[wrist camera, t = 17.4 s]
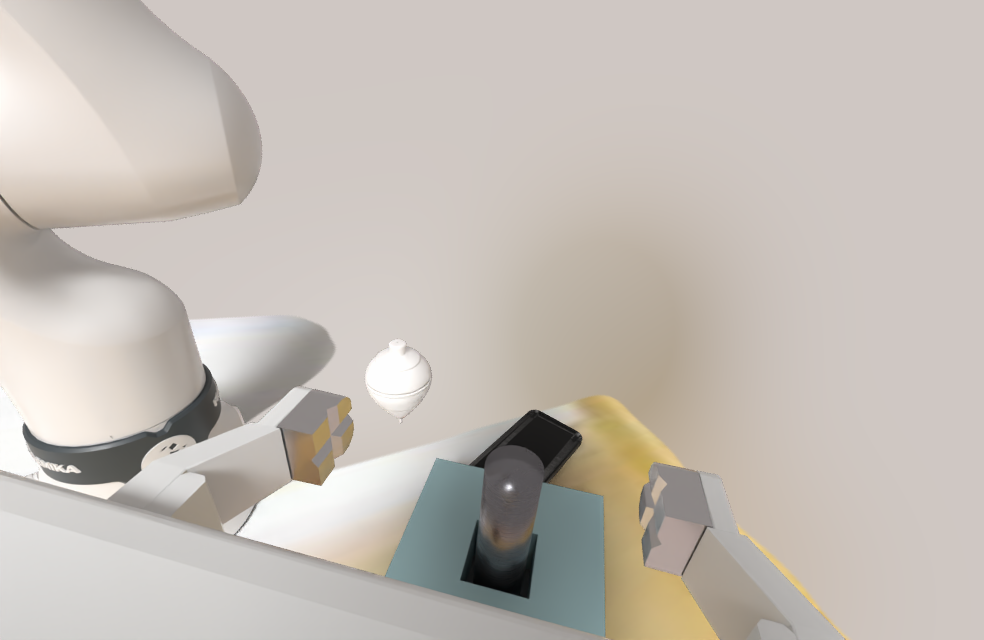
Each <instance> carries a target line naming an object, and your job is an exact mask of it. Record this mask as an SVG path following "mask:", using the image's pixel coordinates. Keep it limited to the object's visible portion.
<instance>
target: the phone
mask: <svg viewBox="0 0 984 640" xmlns="http://www.w3.org/2000/svg"><path fill="white" fill-rule="evenodd" d="M581 441H582V436H581V434H580V433H579V432H577V431H576V430H574V429H572V428H570V427H568V426H566V425H565V424H563V423H561V422H559V421H557V420H556V419H554V418H552V417H550V416H548V415H546V414H545V413H543V412H541V411H539V410H531V411H529V412H528V413H527V414H525V415H524V416H523V417H522V418H521V419H520V420H519V421H518V422H517V423H515V424H514V425H513V426H512V427H511V428H510V429H509V430H508V431H506V432H505V433H504V434H503V435H502V436H501V437H500V438H499V439H498V440H496V441H495V442H494V443H493V444H492V445H491V446H490V447H489V448H488V449H486V450H485V451H484V452H483V453H482V454H481V455H480V456H479V457H478V458H476V459H475V460H474V461H473V462H472V463H471V464H470V465H469V466H474V467H478V468H482V469H484V468H485V461H486V459H487V457H488V455H489V454H490V453H491V452H492V451H493V450H495V449H497V448H499V447H502V446H507V445H515V446H520V447H524V448H526V449H529V450H530V451H532V452H533V453H535V454H536V455H537V456H538V457H539V458H540V460H541V461H542V463H543V466H544V471H545V472H544V479H543V483H549V481H550V480H551V479H552V478H553V477H554V476H555V474H556V473H557V472H558V471H559V470H560V468H561V467H562V466H563V465H564V464H565V463H566V461H567V460H568V459H569V458H570V457H571V455H572V454H573V453H574V452H575V451H576V450H577V448H578V447H579V446H580V444H581Z"/></svg>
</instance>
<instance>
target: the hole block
mask: <svg viewBox="0 0 984 640" xmlns="http://www.w3.org/2000/svg"><path fill="white" fill-rule="evenodd" d="M483 477H484V469H482V468H478V467H474V466H469V465H465V464H460V463H456V462H452V461H447V460H443V459H439V458H436V461H435V463H434V465H433V468H432V470H431V472H430V474H429V477H428V479H427V481H426V484H425V486H424V488H423V490H422V493H421V495H420V497H419V500H418V502H417V504H416V506H415V509H414V511H413V513H412V516H411V518H410V520H409V522H408V525H407V527H406V529H405V532H404V534H403V536H402V538H401V541H400V543H399V545H398V548H397V550H396V552H395V554H394V557H393V559H392V561H391V564H390V566H389V568H388V570H387V573H386V575H385V577H388V578H392V579H395V580H399V581H402V582H406V583H410V584H413V585H417V586H421V587H424V588H428V589H431V590H435V591H439V592H442V593H446V594H449V595H453V596H457V597H460V598H464V599H467V600H471V601H475V602H478V603H482V604H486V605H489V606H493V607H496V608H500V609H504V610H507V611H511V612H515V613H518V614H522V615H526V616H529V617H533V618H536V619H540V620H544V621H547V622H551V623H555V624H558V625H562V626H565V627H569V628H573V629H576V630H580V631H584V632H587V633H591V634H594V635H598V636H602V637H605V583H604V505H603V496H600V495H596V494H591V493H587V492H583V491H578V490H574V489H570V488H565V487H561V486H557V485H552V484H548V483H543V484H542V489H541V493H540V498H539V503H538V508H537V513H536V518H535V523H534V528H533V533H532V538H531V542H530V547H529V552H528V557H527V562H526V567H525V572H524V577H523V582H522V587H521V591H520V596H516V595H512V594H509V593H505V592H501V591H498V590H494V589H490V588H487V587H483V586H479V585H476V584H473V574H474V564H475V555H476V545H477V535H478V526H479V516H480V506H481V497H482V487H483Z"/></svg>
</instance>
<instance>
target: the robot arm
mask: <svg viewBox="0 0 984 640" xmlns="http://www.w3.org/2000/svg"><path fill="white" fill-rule="evenodd" d="M261 160H262V141H261V135H260V131H259V126H258V124H257V121H256V118H255V115H254V113H253V111H252V109H251V106H250V105H249V103H248V101H247V99H246V98H245V96H244V94H243V93H242V92H241V90H240V89H239V87H238V86H237V85H236V83H235V82H234V81H233V80H232V79H231V78H230V76H229V75H228V74H227V73H226V72H225V71H224V70H223V69H222V68H221V67H220V66H218V65H217V64H216V63H215V62H213V60H211V59H210V58H209V57H208V56H206V55H205V54H203V53H202V52H200V51H199V50H197V49H196V48H194V47H193V46H191V45H190V44H189V43H188V42H186V41H185V40H184V39H182V38H181V37H180V36H179V35H177V34H176V33H175V32H174V31H172V30H171V29H170V28H169V27H168V26H167V25H166V24H165V23H163V22H162V21H161V20H160V19H159V18H158V17H157V16H156V15H154V14H153V13H152V12H151V11H150V10H149V9H148V7H146V6H145V5H144V3H143V2H142V1H141V0H0V386H1V388H2V389H3V390H4V392H5V393H6V395H7V396H8V398H9V399H10V400H11V402H12V403H13V405H14V406H15V408H16V409H17V411H18V413H19V414H20V416H21V417H22V419H23V421H24V424H23V435H24V438H25V440H26V445H27V448H28V450H29V452H30V454H31V456H32V457H33V459H34V460H35V461H36V462H37V463H38V464H39V471H38V472H35V473H34V474H30V475H27V476H25V477H23V476H20V475H16V474H12V473H9V472H5V471H2V470H0V640H613V639H609V638H605V637H602V636H598V635H594V634H591V633H587V632H584V631H580V630H576V629H573V628H569V627H565V626H562V625H558V624H555V623H551V622H547V621H544V620H540V619H536V618H533V617H529V616H526V615H522V614H518V613H515V612H511V611H507V610H504V609H500V608H496V607H493V606H489V605H486V604H482V603H478V602H475V601H471V600H467V599H464V598H460V597H457V596H453V595H449V594H446V593H442V592H439V591H435V590H431V589H428V588H424V587H421V586H417V585H413V584H410V583H406V582H402V581H399V580H395V579H392V578H388V577H384V576H381V575H377V574H374V573H370V572H366V571H363V570H359V569H356V568H352V567H348V566H345V565H341V564H338V563H334V562H330V561H327V560H323V559H319V558H316V557H312V556H309V555H305V554H301V553H298V552H294V551H291V550H287V549H283V548H280V547H276V546H273V545H269V544H265V543H262V542H258V541H254V540H251V539H247V538H244V537H240V536H236V535H234V534H235V533H236V532H237V531H238V529H239V528H240V527H241V526H242V525H243V523H244V522H245V521H246V519H247V518H248V516H249V515H250V513H251V511H252V509H253V507H254V505H255V504H256V503H258V502H259V501H261V500H263V499H264V498H266V497H267V496H269V495H270V494H272V493H274V492H275V491H277V490H278V489H280V488H282V487H283V486H285V485H286V484H288V483H289V482H291V481H292V480H297V481H302V482H306V483H311V484H315V485H320V486H321V485H322V484H323V483H324V481H325V480H326V478H327V477H328V476H329V474H330V473H331V471H332V470H333V468H334V467H335V464H334V459H335V458H337V457H339V456H341V455H343V454H344V453H345V451H346V450H347V448H348V447H349V444H350V442H351V439H352V436H353V430H354V425H353V420H352V419H351V417H350V416H349V415H348V413H349V411H350V410H351V409H352V407H351V400H350V399H349V398H348V397H345V396H341V395H337V394H332V393H328V392H324V391H320V390H316V389H315V390H314V389H310V388H306V387H302V386H297V387H294V388H293V389H292V390H291V391H290V392H288V393H287V394H286V395H285V396H284V397H283V398H282V399H281V400H280V401H279V402H278V403H277V404H276V405H275V406H274V407H273V408H272V409H271V410H270V411H269V412H268V413H267V414H266V415H265V416H264V417H263V418H262V419H261V420H260V421H259V422H258V423H254V422H251V423H248V424H246V425H245V423H244V420H243V417H242V415H241V412H240V410H239V409H238V408H237V407H236V406H231V405H230V404H228V403H226V402H223V401H220V398H219V390H218V387H217V384H216V382H215V380H214V378H213V377H212V375H211V372H210V370H209V369H208V368H207V366H205V365H204V364H202V361H201V358H200V355H199V351H198V348H197V345H196V342H195V339H194V335H193V332H192V329H191V326H190V322H189V319H188V316H187V313H186V309H185V306H184V304H183V302H182V301H181V300H180V298H179V297H178V296H177V295H176V294H175V293H174V292H173V291H172V290H171V289H170V288H168V287H167V286H166V285H164V284H163V283H161V282H160V281H158V280H157V279H155V278H153V277H151V276H149V275H147V274H145V273H143V272H140V271H137V270H133V269H130V268H126V267H122V266H118V265H114V264H110V263H106V262H102V261H100V260H97V259H94V258H92V257H89V256H87V255H85V254H83V253H81V252H80V251H78V250H76V249H74V248H73V247H71V246H70V245H68V244H67V243H65V242H64V241H63V240H61V239H60V238H59V237H58V236H57V235H55V233H54V232H53V231H52V230H51V229H55V228H70V227H86V226H102V225H118V224H133V223H150V222H166V221H174V220H178V219H183V218H187V217H192V216H196V215H200V214H205V213H209V212H213V211H217V210H220V209H225V208H228V207H232V206H236V205H239V204H241V203H242V202H243V200H244V199H245V198H246V197H247V196H248V194H249V193H250V191H251V190H252V188H253V186H254V184H255V183H256V180H257V177H258V174H259V171H260V167H261ZM291 479H292V480H291ZM649 481H650V482H649V483H647V484H645V485H644V487H643V490H642V493H641V497H640V504H639V519H640V524H641V526H642V527H643V528H644V530H645V532H644V535H643V538H642V550H643V559H644V566H645V567H649V568H653V569H656V570H660V571H664V572H667V573H671V574H674V575H678V576H682V577H681V579H682V580H683V582H684V584H685V585H686V587H687V588H688V590H689V592H690V593H691V595H692V596H693V598H694V600H695V601H696V603H697V604H698V606H699V607H700V609H701V611H702V612H703V614H704V615H705V617H706V619H707V620H708V622H709V623H710V625H711V627H712V628H713V630H714V631H715V633H716V634H717V636H718V638H719V639H720V640H845V638H844V637H843V636H842V635H841V634H840V633H839V632H838V631H837V630H836V629H835V628H834V627H833V626H832V625H831V624H830V623H829V622H828V621H827V620H826V619H825V618H824V616H823V615H822V614H821V613H820V612H819V611H818V610H817V609H816V608H815V607H814V606H813V605H812V604H811V603H810V602H809V601H808V600H807V599H806V598H805V597H804V596H803V595H802V594H801V592H800V591H799V590H798V589H797V588H796V587H795V586H794V585H793V584H792V583H791V582H790V581H789V580H788V579H787V578H786V577H785V576H784V575H783V574H782V573H781V572H780V571H779V570H778V568H777V567H776V566H775V565H774V564H773V563H772V562H771V561H770V560H769V559H768V558H767V557H766V556H765V555H764V554H763V553H762V552H761V551H760V550H759V549H758V548H757V547H756V546H755V544H754V543H753V542H752V541H751V540H750V539H749V538H748V537H747V536H744V535H740V534H739V531H738V528H737V525H736V522H735V519H734V516H733V513H732V510H731V506H730V503H729V500H728V497H727V494H726V491H725V488H724V485H723V482H722V479H721V478H720V477H719V475H716V474H711V473H706V472H701V471H694V470H690V469H686V468H681V467H676V466H671V465H666V464H661V463H656V462H654V463H653V464H652V465H651V468H650V470H649Z"/></svg>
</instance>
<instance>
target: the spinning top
mask: <svg viewBox="0 0 984 640" xmlns="http://www.w3.org/2000/svg"><path fill="white" fill-rule="evenodd" d="M431 378H432V373H431V368H430V365H429V363H428V362H427V360H426V359H425V358H424V357H423V356H422V355H421V354H420V353H419V352H418V351H417V350H415V349H413V348H410V347H407V346H406V342H405V341H404V340H402V339H394V340H392V341H390V342H389V348H386V349H383V350H381V351H380V352H379V353H378V354H377V355H376V356H375V357H374V358H373V359H372V360H371V362H370V363H369V365H368V367H367V369H366V373H365V383H366V387H367V390H368V392H369V394H370V395H371V397H372V398H373V399H374V401H375V402H376V403H377V404H378V405H379V406H380V407H381V408H383V409H384V410H385V411H386V412H388V413H389V414H391V415H392V416H394V417H396V418H398V419H399V423H402V418H404V417H405V416H407V415H408V414H409V413H410V412H412V411H413V410H414V408H416V407H417V406H418V405H419V403H420V402H421V401H422V400H423V398H424V396H425V395H426V393H427V392H428V390H429V387H430V384H431Z"/></svg>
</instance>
